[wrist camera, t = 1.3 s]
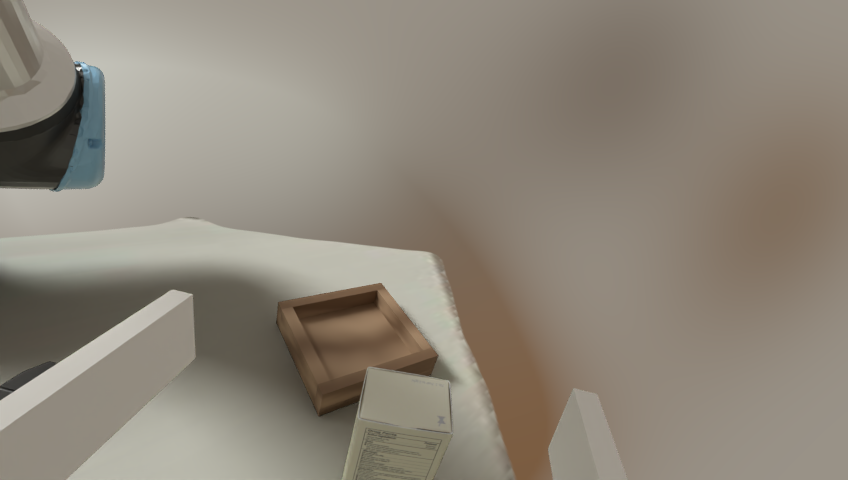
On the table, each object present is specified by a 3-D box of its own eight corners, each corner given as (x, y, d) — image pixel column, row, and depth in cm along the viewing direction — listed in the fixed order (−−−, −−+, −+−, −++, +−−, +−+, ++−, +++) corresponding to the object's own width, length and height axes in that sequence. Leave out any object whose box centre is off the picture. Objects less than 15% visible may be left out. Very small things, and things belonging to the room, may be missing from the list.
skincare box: (414, 474, 35) (454, 379, 29) (412, 533, 31) (457, 435, 25) (342, 462, 34) (367, 362, 28) (330, 520, 30) (356, 417, 24)
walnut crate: (276, 322, 45) (278, 302, 44) (376, 300, 53) (381, 282, 52) (318, 416, 37) (322, 394, 36) (430, 374, 45) (437, 355, 43)
